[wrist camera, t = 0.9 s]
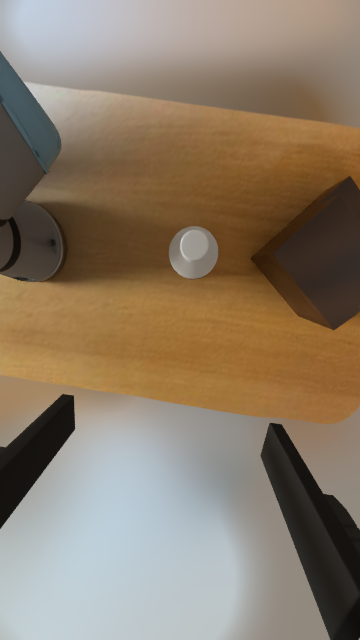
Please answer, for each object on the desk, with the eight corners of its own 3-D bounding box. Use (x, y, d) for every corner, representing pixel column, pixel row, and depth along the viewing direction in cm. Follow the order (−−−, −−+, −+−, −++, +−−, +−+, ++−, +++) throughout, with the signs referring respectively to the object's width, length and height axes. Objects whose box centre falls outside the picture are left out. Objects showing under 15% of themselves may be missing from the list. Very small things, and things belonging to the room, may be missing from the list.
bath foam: (215, 250, 37) (245, 226, 17) (199, 282, 38) (210, 293, 19) (184, 234, 36) (177, 190, 17) (169, 267, 38) (148, 263, 18)
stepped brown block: (250, 258, 37) (272, 253, 27) (326, 189, 33) (383, 155, 23) (298, 316, 39) (334, 330, 29) (373, 257, 35) (443, 252, 26)
